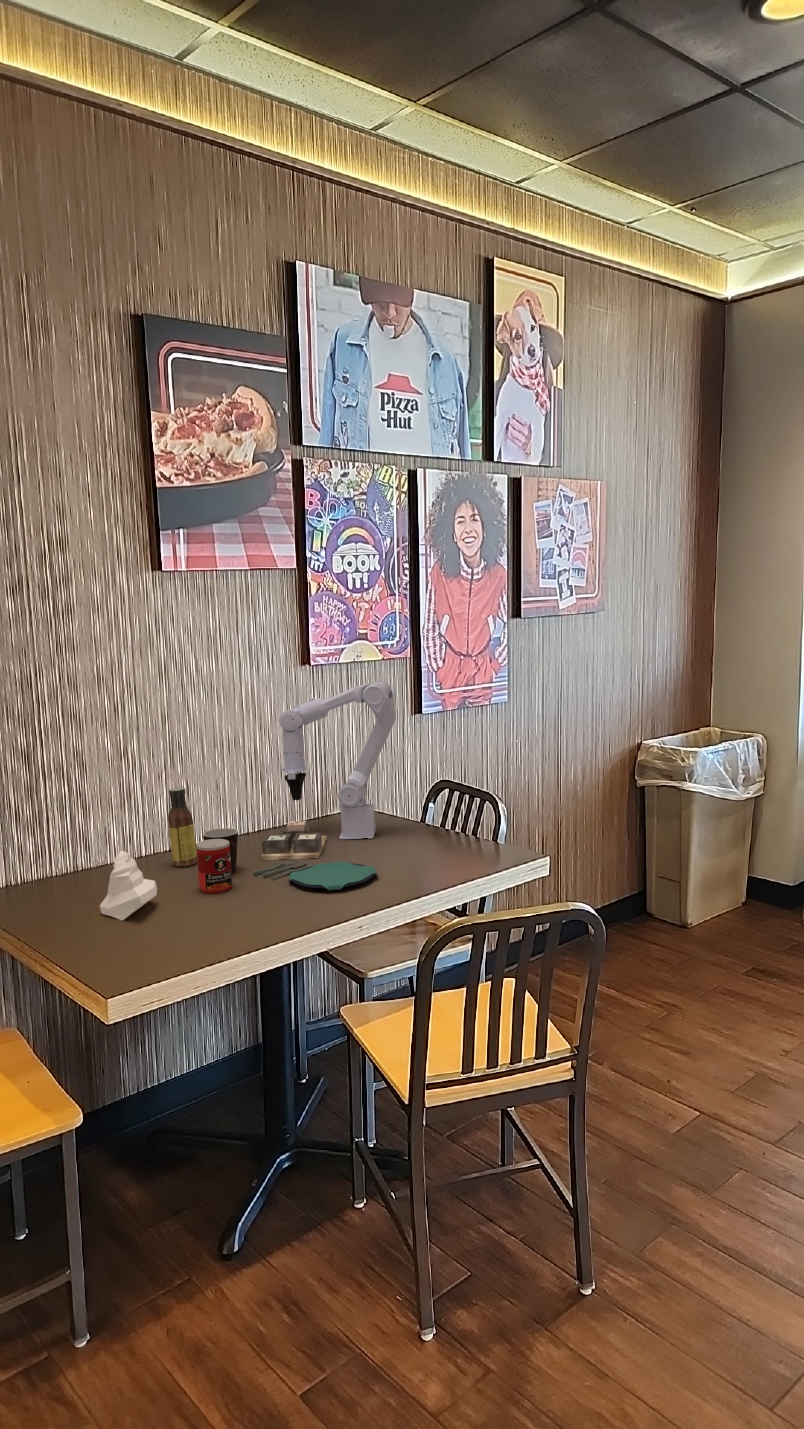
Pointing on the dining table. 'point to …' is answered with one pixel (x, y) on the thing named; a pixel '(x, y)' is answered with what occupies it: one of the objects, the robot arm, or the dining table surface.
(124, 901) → the soft serve ice cream
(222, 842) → the canned food
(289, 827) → the tile three
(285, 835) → the tile two
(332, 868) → the cutlery set
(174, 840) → the sauce bottle
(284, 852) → the console
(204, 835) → the coffee mug
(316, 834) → the tile one
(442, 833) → the dining table surface
